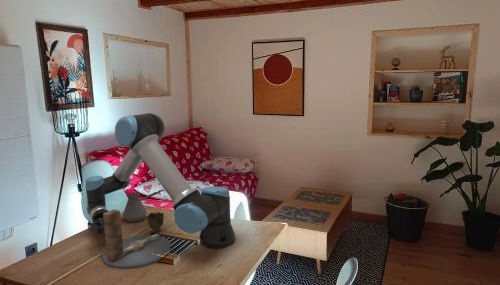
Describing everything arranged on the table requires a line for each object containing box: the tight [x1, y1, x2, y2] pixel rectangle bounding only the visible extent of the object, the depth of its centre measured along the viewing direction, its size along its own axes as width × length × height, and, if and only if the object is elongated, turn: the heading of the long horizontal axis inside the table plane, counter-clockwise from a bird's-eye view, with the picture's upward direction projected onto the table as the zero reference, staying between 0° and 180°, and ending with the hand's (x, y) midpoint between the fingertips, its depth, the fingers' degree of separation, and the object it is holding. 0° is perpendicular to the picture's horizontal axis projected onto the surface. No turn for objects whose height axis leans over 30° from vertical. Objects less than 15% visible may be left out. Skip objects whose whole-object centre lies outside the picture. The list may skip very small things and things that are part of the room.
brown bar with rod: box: [103, 208, 160, 262], centre depth 140 cm, size 24×5×18 cm, turn 147°
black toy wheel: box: [146, 211, 164, 233], centre depth 161 cm, size 8×7×8 cm
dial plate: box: [101, 234, 171, 270], centre depth 142 cm, size 26×26×2 cm
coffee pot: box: [122, 188, 166, 223], centre depth 176 cm, size 21×12×15 cm, turn 93°
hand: (112, 236), depth 134 cm, fingers closed
